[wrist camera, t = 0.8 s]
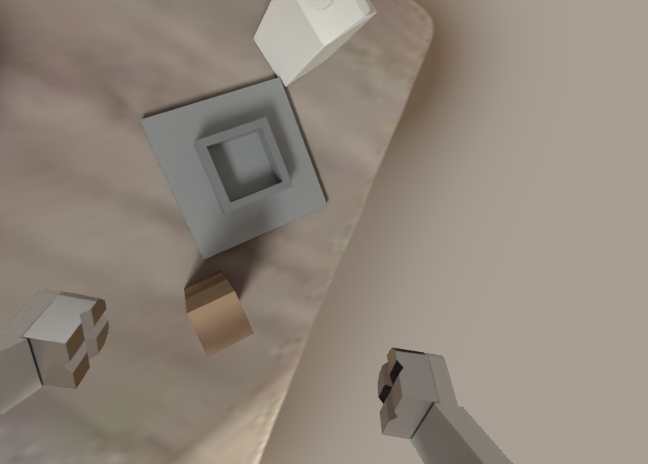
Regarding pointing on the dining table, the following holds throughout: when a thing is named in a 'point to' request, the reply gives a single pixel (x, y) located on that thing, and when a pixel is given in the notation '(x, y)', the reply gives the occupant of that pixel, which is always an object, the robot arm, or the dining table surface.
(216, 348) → the walnut block
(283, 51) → the milk carton
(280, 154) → the socket base
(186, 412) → the dining table surface
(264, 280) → the dining table surface
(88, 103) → the dining table surface
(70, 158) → the dining table surface
